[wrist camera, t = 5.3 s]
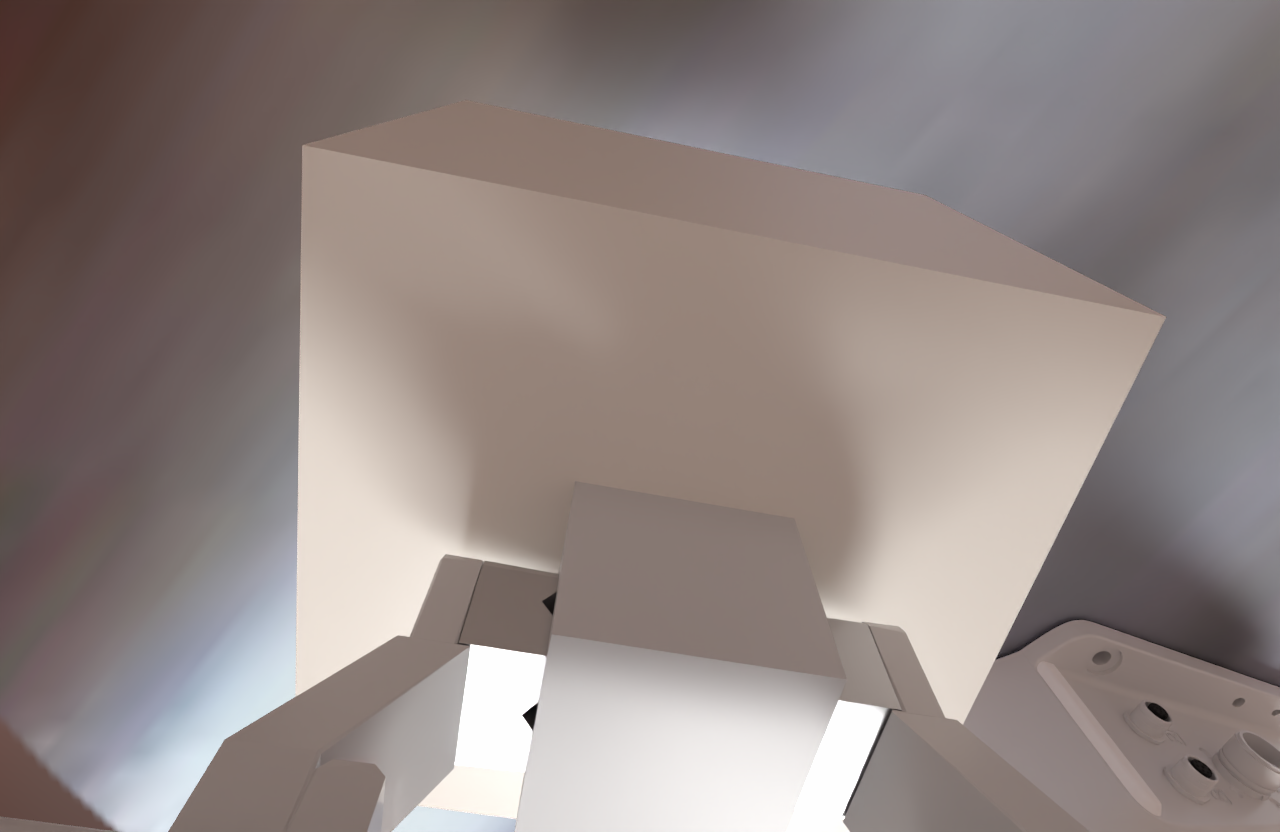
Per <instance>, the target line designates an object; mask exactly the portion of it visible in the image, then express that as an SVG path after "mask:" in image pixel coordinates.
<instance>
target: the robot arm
mask: <svg viewBox="0 0 1280 832" xmlns="http://www.w3.org/2000/svg"><path fill="white" fill-rule="evenodd" d="M558 581H559V574H557V573H551V572H546V571H540V570H535V569H529V568H524V567H518V566H513V565H507V564H502V563H496V562H491V561H484V562H483V561H482V560H479V559H473V558H467V557H461V556H455V555H449V554H445V555H444V556H443V558H442V559H441V560H440V562H439V564H438V567H437V569H436V572H435V574H434V577H433V579H432V582H431V584H430V587H429V589H428V592H427V594H426V597H425V599H424V602H423V604H422V607H421V609H420V612H419V614H418V617H417V619H416V622H415V624H414V627H413V629H412V632H411V634H410V637H407V636H400V635H397V636H396V637H394V638H392V639H391V640H389V641H387V642H386V643H384V644H382V645H381V646H379V647H377V648H376V649H374V650H372V651H371V652H369V653H367V654H366V655H364V656H362V657H361V658H359V659H358V660H356V661H354V662H353V663H351V664H349V665H348V666H346V667H344V668H343V669H341V670H339V671H338V672H336V673H334V674H333V675H331V676H329V677H328V678H326V679H324V680H323V681H321V682H319V683H318V684H316V685H314V686H313V687H311V688H310V689H308V690H306V691H305V692H303V693H301V694H300V695H298V696H296V697H295V698H293V699H291V700H290V701H288V702H286V703H285V704H283V705H281V706H280V707H278V708H276V709H275V710H273V711H271V712H270V713H268V714H266V715H265V716H263V717H262V718H260V719H258V720H257V721H255V722H253V723H252V724H250V725H248V726H247V727H245V728H243V729H242V730H240V731H238V732H237V733H235V734H233V735H232V736H230V737H228V738H227V739H225V740H224V742H223V743H222V745H221V747H220V748H219V750H218V752H217V753H216V755H215V756H214V758H213V760H212V761H211V763H210V765H209V766H208V768H207V769H206V771H205V773H204V774H203V776H202V778H201V779H200V781H199V783H198V784H197V786H196V787H195V789H194V791H193V792H192V794H191V796H190V797H189V799H188V800H187V802H186V804H185V805H184V807H183V809H182V810H181V812H180V813H179V815H178V817H177V818H176V820H175V822H174V823H173V825H172V826H171V828H170V830H169V831H168V832H392V831H393V830H394V829H395V828H396V827H397V826H398V824H399V823H400V822H401V821H402V820H403V819H404V818H405V817H406V816H407V815H408V814H409V813H410V812H411V811H412V810H413V809H414V808H415V807H416V806H417V805H418V804H419V803H420V802H421V801H422V800H423V799H424V798H425V797H426V796H427V795H428V794H429V793H430V792H431V791H432V790H433V789H434V788H435V787H436V786H437V785H438V784H439V783H440V782H441V781H442V780H443V779H444V778H445V777H446V776H447V775H448V774H449V773H450V772H451V771H452V770H453V769H454V765H464V766H473V767H482V768H491V769H501V770H510V771H519V772H525V769H526V764H527V759H528V753H529V748H530V743H531V737H532V732H533V726H534V720H535V713H536V707H537V702H538V700H539V694H540V689H541V684H542V678H543V673H544V668H545V662H546V656H547V650H548V644H549V638H550V632H551V625H552V619H553V609H554V604H555V599H556V593H557V587H558ZM827 620H828V623H829V626H830V629H831V632H832V635H833V638H834V641H835V645H836V648H837V651H838V654H839V657H840V660H841V663H842V666H843V669H844V672H845V675H846V678H847V681H846V683H845V686H844V688H843V691H842V693H841V696H840V698H839V701H838V703H837V706H836V708H835V711H834V713H833V716H832V718H831V721H830V723H829V726H828V728H827V731H826V733H825V736H824V738H823V741H822V743H821V746H820V748H819V751H818V753H817V756H816V758H815V761H814V763H813V766H812V768H811V771H810V773H809V776H808V778H807V781H806V783H805V786H804V788H803V791H802V793H801V795H800V798H799V800H798V803H797V805H796V808H795V811H801V812H807V813H813V814H819V815H825V816H831V817H836V818H842V819H844V820H843V823H844V824H845V826H846V827H847V828H848V830H849V831H850V832H1280V687H1277V686H1274V685H1271V684H1268V683H1265V682H1263V681H1260V680H1257V679H1254V678H1251V677H1248V676H1245V675H1243V674H1240V673H1237V672H1234V671H1231V670H1228V669H1225V668H1223V667H1220V666H1217V665H1214V664H1211V663H1208V662H1205V661H1203V660H1200V659H1197V658H1194V657H1191V656H1188V655H1185V654H1183V653H1180V652H1177V651H1174V650H1171V649H1168V648H1165V647H1163V646H1160V645H1157V644H1154V643H1151V642H1148V641H1145V640H1142V639H1140V638H1137V637H1134V636H1131V635H1128V634H1125V633H1122V632H1120V631H1117V630H1114V629H1111V628H1108V627H1105V626H1102V625H1100V624H1097V623H1094V622H1091V621H1086V620H1074V621H1070V622H1067V623H1064V624H1062V625H1060V626H1058V627H1056V628H1054V629H1052V630H1051V631H1049V632H1047V633H1046V634H1044V635H1042V636H1041V637H1039V638H1038V639H1036V640H1035V641H1033V642H1032V643H1030V644H1029V645H1027V646H1026V647H1025V648H1023V649H1022V650H1020V651H1018V652H1015V653H1013V654H1011V655H1008V656H1005V657H1002V658H999V659H996V660H995V661H994V663H993V665H992V667H991V669H990V671H989V673H988V675H987V677H986V679H985V681H984V683H983V685H982V687H981V689H980V691H979V693H978V695H977V697H976V699H975V701H974V703H973V705H972V707H971V709H970V711H969V713H968V715H967V717H966V719H965V721H964V723H963V725H962V724H961V723H960V722H959V721H958V720H954V719H948V718H945V716H944V714H943V711H942V709H941V707H940V705H939V703H938V701H937V699H936V696H935V694H934V692H933V690H932V688H931V686H930V684H929V681H928V679H927V677H926V675H925V673H924V671H923V669H922V666H921V664H920V662H919V660H918V658H917V656H916V654H915V651H914V649H913V647H912V645H911V643H910V641H909V639H908V636H907V634H906V632H905V631H904V630H903V629H901V628H900V627H899V626H893V625H885V624H877V623H870V622H862V623H860V622H853V621H847V620H841V619H834V618H828V617H827ZM0 832H116V831H109V830H100V829H93V828H85V827H77V826H70V825H62V824H54V823H46V822H38V821H31V820H23V819H15V818H7V817H0Z"/></svg>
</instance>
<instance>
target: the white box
mask: <svg viewBox="0 0 1280 832" xmlns="http://www.w3.org/2000/svg"><path fill="white" fill-rule="evenodd" d="M1165 319H1166V317H1165V316H1163V315H1161V314H1159V313H1157V312H1156V311H1154V310H1152V309H1150V308H1148V307H1146V306H1144V305H1142V304H1140V303H1138V302H1136V301H1134V300H1132V299H1130V298H1128V297H1126V296H1124V295H1122V294H1120V293H1118V292H1116V291H1114V290H1112V289H1110V288H1108V287H1106V286H1104V285H1102V284H1100V283H1098V282H1096V281H1094V280H1092V279H1090V278H1088V277H1086V276H1084V275H1082V274H1080V273H1078V272H1076V271H1074V270H1072V269H1070V268H1068V267H1066V266H1065V265H1063V264H1061V263H1059V262H1057V261H1055V260H1053V259H1051V258H1049V257H1047V256H1045V255H1043V254H1041V253H1039V252H1037V251H1035V250H1033V249H1031V248H1029V247H1027V246H1025V245H1023V244H1021V243H1019V242H1017V241H1015V240H1013V239H1011V238H1009V237H1007V236H1005V235H1003V234H1001V233H999V232H997V231H995V230H993V229H991V228H989V227H987V226H985V225H983V224H981V223H979V222H977V221H975V220H974V219H972V218H970V217H968V216H966V215H964V214H962V213H960V212H958V211H956V210H954V209H952V208H950V207H948V206H946V205H944V204H942V203H940V202H938V201H936V200H934V199H932V198H930V197H928V196H926V195H922V194H917V193H913V192H908V191H903V190H898V189H893V188H888V187H884V186H879V185H874V184H869V183H864V182H859V181H855V180H850V179H845V178H840V177H835V176H830V175H826V174H821V173H816V172H811V171H806V170H801V169H797V168H792V167H787V166H782V165H777V164H772V163H768V162H763V161H758V160H753V159H748V158H743V157H739V156H734V155H729V154H724V153H719V152H714V151H710V150H705V149H700V148H695V147H690V146H685V145H680V144H676V143H671V142H666V141H661V140H656V139H651V138H647V137H642V136H637V135H632V134H627V133H622V132H618V131H613V130H608V129H603V128H598V127H593V126H589V125H584V124H579V123H574V122H569V121H564V120H560V119H555V118H550V117H545V116H540V115H535V114H531V113H526V112H521V111H516V110H511V109H506V108H502V107H497V106H492V105H487V104H482V103H477V102H473V101H468V100H465V101H461V102H457V103H454V104H450V105H446V106H443V107H439V108H436V109H432V110H428V111H425V112H421V113H417V114H414V115H410V116H406V117H403V118H399V119H396V120H392V121H388V122H385V123H381V124H377V125H374V126H370V127H366V128H363V129H359V130H356V131H352V132H348V133H345V134H341V135H337V136H334V137H330V138H326V139H323V140H319V141H316V142H312V143H308V144H305V145H302V221H301V300H300V380H299V460H298V539H297V619H296V696H298V695H300V694H301V693H303V692H305V691H306V690H308V689H310V688H311V687H313V686H314V685H316V684H318V683H319V682H321V681H323V680H324V679H326V678H328V677H329V676H331V675H333V674H334V673H336V672H338V671H339V670H341V669H343V668H344V667H346V666H348V665H349V664H351V663H353V662H354V661H356V660H358V659H359V658H361V657H362V656H364V655H366V654H367V653H369V652H371V651H372V650H374V649H376V648H377V647H379V646H381V645H382V644H384V643H386V642H387V641H389V640H391V639H392V638H394V637H396V636H397V635H400V636H407V637H410V634H411V632H412V629H413V627H414V624H415V622H416V619H417V617H418V614H419V612H420V609H421V607H422V604H423V602H424V599H425V597H426V594H427V592H428V589H429V587H430V584H431V582H432V579H433V577H434V574H435V572H436V569H437V567H438V564H439V562H440V560H441V559H442V558H443V556H444V555H445V554H449V555H455V556H461V557H467V558H473V559H479V560H482V561H483V562H484V561H491V562H496V563H502V564H507V565H513V566H518V567H524V568H529V569H535V570H540V571H546V572H551V573H557V574H559V581H558V587H557V593H556V599H555V604H554V609H553V619H552V625H551V632H550V638H549V644H548V650H547V656H546V662H545V668H544V673H543V678H542V684H541V689H540V694H539V700H538V702H537V707H536V713H535V720H534V726H533V732H532V737H531V743H530V748H529V753H528V759H527V764H526V769H525V772H519V771H510V770H501V769H491V768H482V767H473V766H464V765H454V769H453V770H452V771H451V772H450V773H449V774H448V775H447V776H446V777H445V778H444V779H443V780H442V781H441V782H440V783H439V784H438V785H437V786H436V787H435V788H434V789H433V790H432V791H431V792H430V793H429V794H428V795H427V796H426V797H425V798H424V799H423V800H422V801H421V802H420V803H419V804H418V805H417V806H423V807H430V808H438V809H445V810H453V811H460V812H467V813H475V814H482V815H490V816H497V817H505V818H512V819H516V825H515V831H514V832H850V831H849V830H848V828H847V827H846V826H845V824H844V823H843V820H844V819H842V818H836V817H831V816H825V815H819V814H813V813H807V812H801V811H795V808H796V805H797V803H798V800H799V798H800V795H801V793H802V791H803V788H804V786H805V783H806V781H807V778H808V776H809V773H810V771H811V768H812V766H813V763H814V761H815V758H816V756H817V753H818V751H819V748H820V746H821V743H822V741H823V738H824V736H825V733H826V731H827V728H828V726H829V723H830V721H831V718H832V716H833V713H834V711H835V708H836V706H837V703H838V701H839V698H840V696H841V693H842V691H843V688H844V686H845V683H846V681H847V678H846V675H845V672H844V669H843V666H842V663H841V660H840V657H839V654H838V651H837V648H836V645H835V641H834V638H833V635H832V632H831V629H830V626H829V623H828V620H827V617H828V618H834V619H841V620H847V621H853V622H860V623H862V622H870V623H877V624H885V625H893V626H899V627H900V628H901V629H903V630H904V631H905V632H906V634H907V636H908V639H909V641H910V643H911V645H912V647H913V649H914V651H915V654H916V656H917V658H918V660H919V662H920V664H921V666H922V669H923V671H924V673H925V675H926V677H927V679H928V681H929V684H930V686H931V688H932V690H933V692H934V694H935V696H936V699H937V701H938V703H939V705H940V707H941V709H942V711H943V714H944V716H945V718H948V719H954V720H958V721H959V722H960V723H961V724H962V725H963V723H964V721H965V719H966V717H967V715H968V713H969V711H970V709H971V707H972V705H973V703H974V701H975V699H976V697H977V695H978V693H979V691H980V689H981V687H982V685H983V683H984V681H985V679H986V677H987V675H988V673H989V671H990V669H991V667H992V665H993V663H994V661H995V659H996V657H997V655H998V653H999V651H1000V649H1001V647H1002V645H1003V643H1004V641H1005V639H1006V637H1007V635H1008V633H1009V631H1010V629H1011V627H1012V625H1013V623H1014V621H1015V619H1016V617H1017V615H1018V613H1019V611H1020V609H1021V607H1022V605H1023V603H1024V601H1025V599H1026V597H1027V595H1028V593H1029V591H1030V589H1031V587H1032V585H1033V583H1034V581H1035V579H1036V577H1037V575H1038V573H1039V571H1040V569H1041V567H1042V565H1043V563H1044V561H1045V559H1046V557H1047V555H1048V553H1049V551H1050V549H1051V547H1052V545H1053V543H1054V541H1055V539H1056V537H1057V535H1058V533H1059V531H1060V529H1061V527H1062V525H1063V523H1064V521H1065V519H1066V517H1067V515H1068V513H1069V511H1070V509H1071V507H1072V505H1073V503H1074V501H1075V499H1076V497H1077V495H1078V493H1079V491H1080V489H1081V487H1082V485H1083V483H1084V481H1085V479H1086V477H1087V475H1088V473H1089V471H1090V469H1091V467H1092V465H1093V463H1094V461H1095V459H1096V457H1097V455H1098V453H1099V451H1100V449H1101V447H1102V445H1103V443H1104V441H1105V439H1106V437H1107V435H1108V433H1109V431H1110V429H1111V427H1112V425H1113V423H1114V421H1115V419H1116V417H1117V415H1118V413H1119V411H1120V409H1121V407H1122V405H1123V403H1124V401H1125V399H1126V397H1127V395H1128V393H1129V391H1130V389H1131V387H1132V385H1133V383H1134V381H1135V379H1136V377H1137V375H1138V373H1139V371H1140V369H1141V367H1142V365H1143V363H1144V361H1145V359H1146V357H1147V355H1148V353H1149V351H1150V349H1151V347H1152V345H1153V343H1154V341H1155V339H1156V337H1157V335H1158V333H1159V331H1160V329H1161V327H1162V325H1163V323H1164V321H1165Z"/></svg>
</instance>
